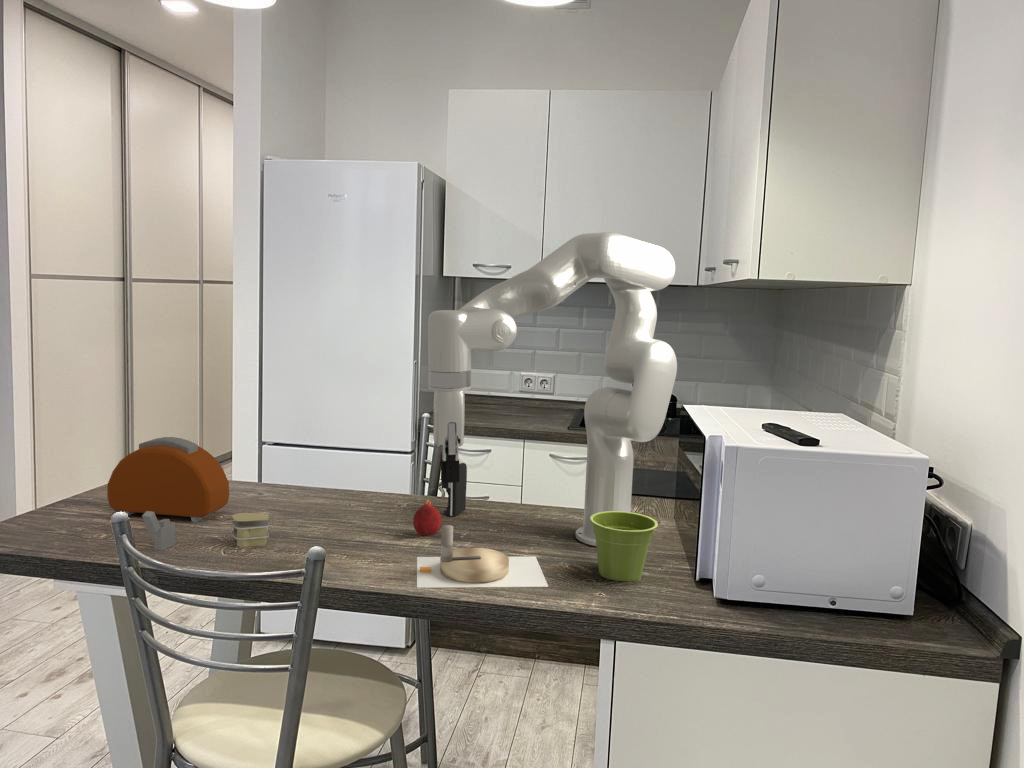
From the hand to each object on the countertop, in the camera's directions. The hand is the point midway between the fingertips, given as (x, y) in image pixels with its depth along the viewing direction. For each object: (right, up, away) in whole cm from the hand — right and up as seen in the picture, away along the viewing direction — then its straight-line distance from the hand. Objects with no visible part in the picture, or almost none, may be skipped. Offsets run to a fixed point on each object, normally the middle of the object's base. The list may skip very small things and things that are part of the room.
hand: (450, 481), depth 144 cm
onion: (-6, -14, +18) cm, 24 cm away
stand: (+5, -17, -3) cm, 18 cm away
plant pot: (+30, -18, -2) cm, 35 cm away
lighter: (-55, -14, +6) cm, 57 cm away
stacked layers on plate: (-40, -14, +12) cm, 44 cm away
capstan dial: (+5, -15, -3) cm, 16 cm away
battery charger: (-2, -12, +38) cm, 40 cm away
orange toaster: (-63, -11, +28) cm, 70 cm away
